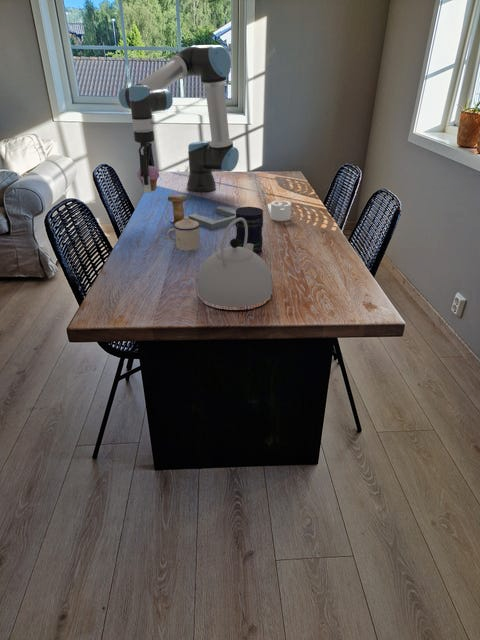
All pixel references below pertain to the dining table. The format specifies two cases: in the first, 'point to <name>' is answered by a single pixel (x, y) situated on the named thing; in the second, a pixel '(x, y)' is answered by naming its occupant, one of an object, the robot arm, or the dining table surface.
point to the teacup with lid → (186, 234)
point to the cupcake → (153, 177)
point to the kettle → (235, 275)
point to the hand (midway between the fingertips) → (150, 189)
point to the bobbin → (177, 206)
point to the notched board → (212, 223)
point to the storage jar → (250, 227)
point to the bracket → (279, 210)
